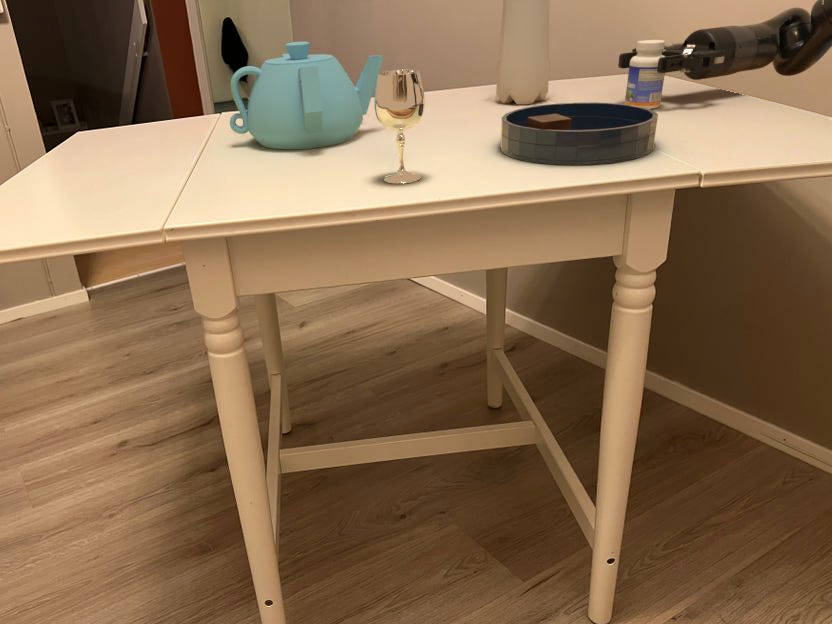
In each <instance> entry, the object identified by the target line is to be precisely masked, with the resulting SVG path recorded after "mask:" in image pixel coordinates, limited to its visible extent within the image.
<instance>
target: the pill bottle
mask: <svg viewBox="0 0 832 624" xmlns="http://www.w3.org/2000/svg"><path fill="white" fill-rule="evenodd" d="M665 43H666V41H665V40H664V39H662V40H661V39H645V40H637V42H636V47H635V48H636V51H637V55H636V56H634V57H632V59H631V60H630V65H629V68H628V74H627V82H626V90H625V99H624V104H627V105H634V106H639V107H644V108H647V109H650V110H654V109H657V108H659V107H660V106H661V102H662V96H663V95H662V94H663V87H664V82H665V81H664V80H665V75H666V73H658V72H657V67H658V60H659V58H661V57H665V56H663V55H662V51H663V50H664V45H666V44H665ZM664 51H665V50H664Z"/></svg>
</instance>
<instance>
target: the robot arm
mask: <svg viewBox="0 0 832 624" xmlns="http://www.w3.org/2000/svg"><path fill="white" fill-rule="evenodd" d="M830 49H832V0H816V1H815V2H814V4H813V5H812V8H811V11H810V12H809V11H808V10H806V8H805V9H804V8H802V7H791V8H788V9H786V10H784V11H782V12H780V13H779V14H777V15H775V16H773V17H771V18H769V19H767V20H765V21H761V22H759V23H756V24H747V25H726V26H719V27H718V26H717V27H709V28H701V29H697V30H695V31H693V32H691V33H690V34H689V35H688V36H687V37H686V38H685V40H684V42H674V43H672V44H667V45H666V44H665V45H664V50H663V51H662V55H663V56H665V57H661V58H659V60H658V67H657V72H658V73H665V74H667V73H673V72H680V73H683V74H684V75H685V76H686V77H687V78H689V79H690V80H694V81H700V80H705V79H706V80H707V79H712V78H718V77H726V76H730V75H734V74H738V73H740V72H747V71H754V70H760V69H763V68H765V67H767V66H769V65H770V64H772V66H773V69H774V71H775V72H776V73H777V74H779V75H780V76H785V77H791V76H797V75H800V74H802V73H804V72H805V71H807V70H809V69H811V67H813V66H814V65H815V64H817V63H818V62H819V61H820V60H821V59H822V58H823V57H824V56H825V55H826V54H827V52H829V50H830ZM636 55H637V51H636V47H634V48H632V49H631V51H630V52H622V53H620V54H619V57H618V65H617V67H618V68H619V69H622V70H623V69H624V70H625V69H629V65H630V60H631V59H632V57H634V56H636Z"/></svg>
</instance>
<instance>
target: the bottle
mask: <svg viewBox="0 0 832 624" xmlns="http://www.w3.org/2000/svg"><path fill="white" fill-rule="evenodd" d="M549 47H550V0H502V13H501V27H500V41H499V55H498V60H497V65H496V88H495V89H496V90H495V93H496V96H497V97H498V100H499V101H500V102H501V103H502V104H503V105H504V104H510V103H512V102H513V101H514V102H515V104H516V105H531V104H534V102H537V101H538V102H539V101H541V102H542V101H543V100H544V99H545V98H546V96H547V94H548V93H549V84H550V83H549V81H550V69H551V61H550V53H549V52H550V51H549V50H550V49H549Z"/></svg>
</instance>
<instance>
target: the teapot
mask: <svg viewBox="0 0 832 624" xmlns="http://www.w3.org/2000/svg"><path fill="white" fill-rule="evenodd" d="M310 47H311V42H309V41H293V42H288V43H285V49H286V51H287V53H281V57H276V58H275V57H274V58H270V59H267V60H265V61H264V62H263V63H262V65H261V67H260V68H259V67H256V66H253V65H247V66H243V67H240V68H239V69H237V70H236V71H235V72H234V73H233V74H232V76H231V79H230V91H231V95H232V98H233V100H234V102H235V105H236V108H237V111H238V113H237V112H236V113H233V115H231V116H230V119H229V127H230V129H231V131H233V132H234V133H236V134H239V135H244V134H246V133H249V134H250V135H251V136H252V137H253V138H254V139H255V141H256V142H258V143H259V145H261V146H262V147H265V148H269V149H274V150H306V149H307V150H308V149H315V148H316V149H317V148H322V147H330V146H334V145H339V144H342V143H345V142H347V141H349V140H351V139H352V138H353V137H354V136H355V134H356V133H357V132H358V130H359V128H360V127H361V125H362V123H363V120H364V115H367V113H368V110H369V106H370V103H371V100H372V96H373V93H374V92H375V88H376V81H377V76H378V73H380V71H381V67H382V63H383V61H384V55H382V54H381V55H379V54H378V55H368V59H367V61H366V63H365V65H364V67H363V69H362V71H361V74H360V76H359V77H358V80H357V82H356V85H354V83H353V81H352V80H351V78H350V76H349V75H348V73H347V72H346V70H345V69H344V67H343V66H342V64H341V63H340V62H339V60H338V59H337V58H336V57H335V56H334V55H333V54H323V53H321V54H319V53H318V54H309V52H310ZM246 75H254V76H256V78H255V80H254V83H253V85H252V88H251V90H250V93H249V98H248V101H247V109H246V105H245V104H244V101H243V99H242V96H241V93H240V89H239V81H240V79H241V78H242V77H244V76H246ZM238 119H241V120H242V125H241V126H240V125H238V124H237V120H238Z"/></svg>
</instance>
